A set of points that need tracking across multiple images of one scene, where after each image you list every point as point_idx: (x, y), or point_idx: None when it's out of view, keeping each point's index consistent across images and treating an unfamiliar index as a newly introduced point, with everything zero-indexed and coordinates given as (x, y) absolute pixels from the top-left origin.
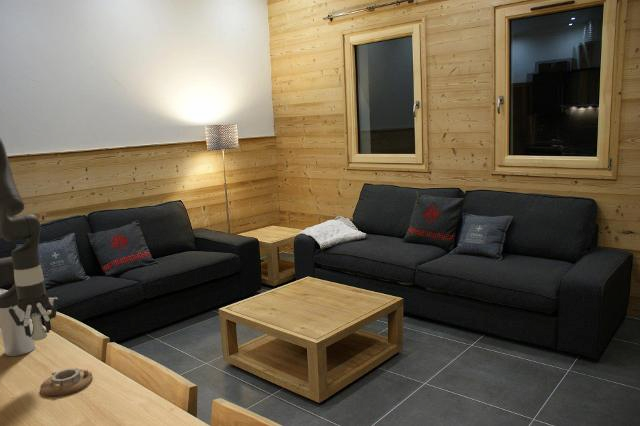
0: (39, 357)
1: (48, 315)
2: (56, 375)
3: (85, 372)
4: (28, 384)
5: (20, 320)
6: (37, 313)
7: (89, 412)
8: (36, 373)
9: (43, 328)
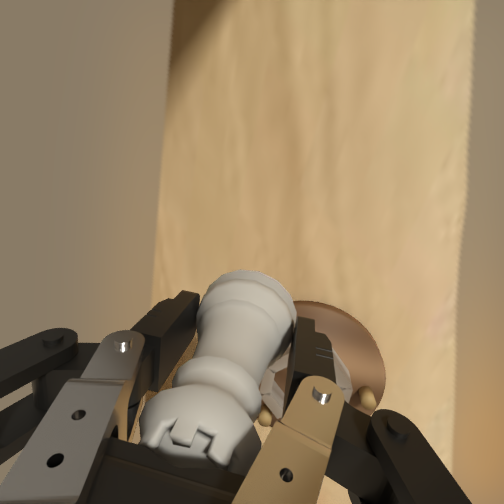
0: (303, 31)
1: (330, 460)
2: (281, 368)
3: (364, 405)
4: (215, 272)
5: (60, 383)
6: (217, 444)
7: None
8: (253, 205)
9: (272, 357)
